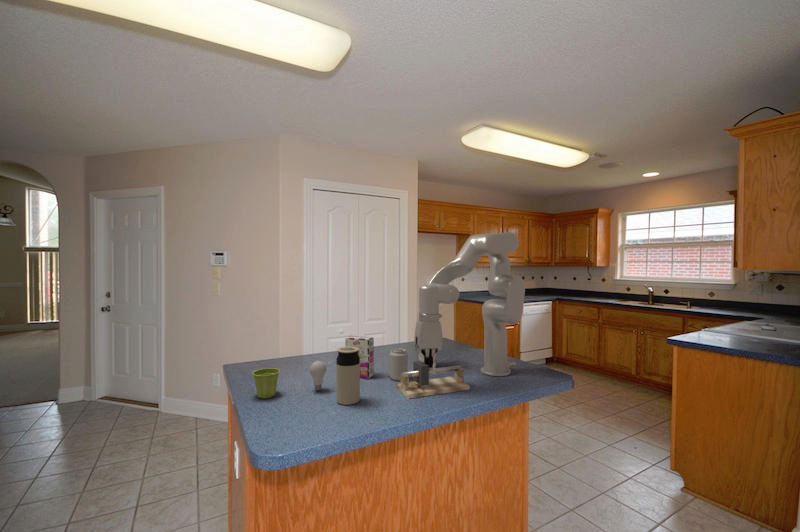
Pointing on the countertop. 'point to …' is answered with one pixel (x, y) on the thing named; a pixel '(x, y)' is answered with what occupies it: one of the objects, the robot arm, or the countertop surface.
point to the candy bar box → (363, 354)
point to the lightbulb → (318, 373)
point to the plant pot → (266, 382)
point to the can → (398, 363)
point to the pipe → (433, 371)
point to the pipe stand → (433, 385)
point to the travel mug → (348, 375)
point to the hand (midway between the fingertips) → (428, 366)
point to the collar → (421, 373)
